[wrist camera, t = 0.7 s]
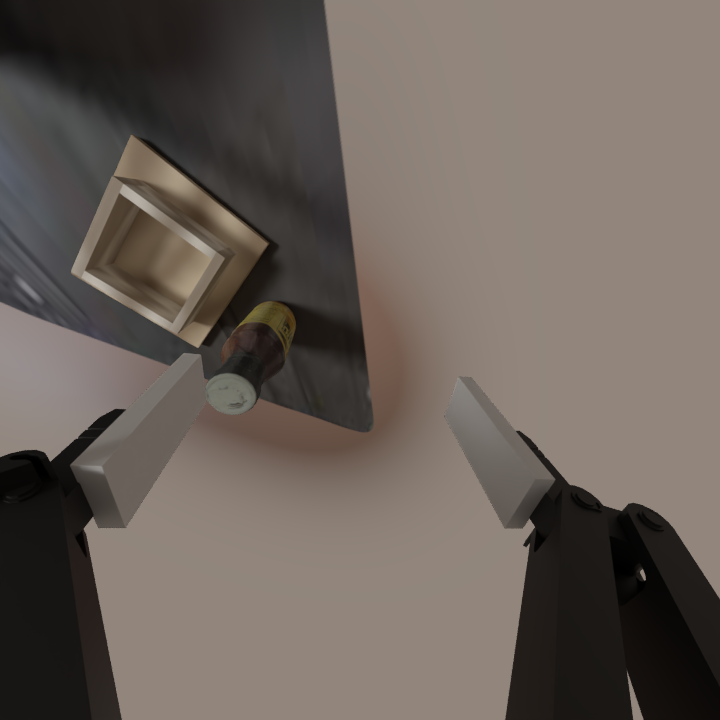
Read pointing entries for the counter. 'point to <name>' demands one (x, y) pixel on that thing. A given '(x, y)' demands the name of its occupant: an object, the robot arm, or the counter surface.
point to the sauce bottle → (251, 357)
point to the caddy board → (166, 246)
